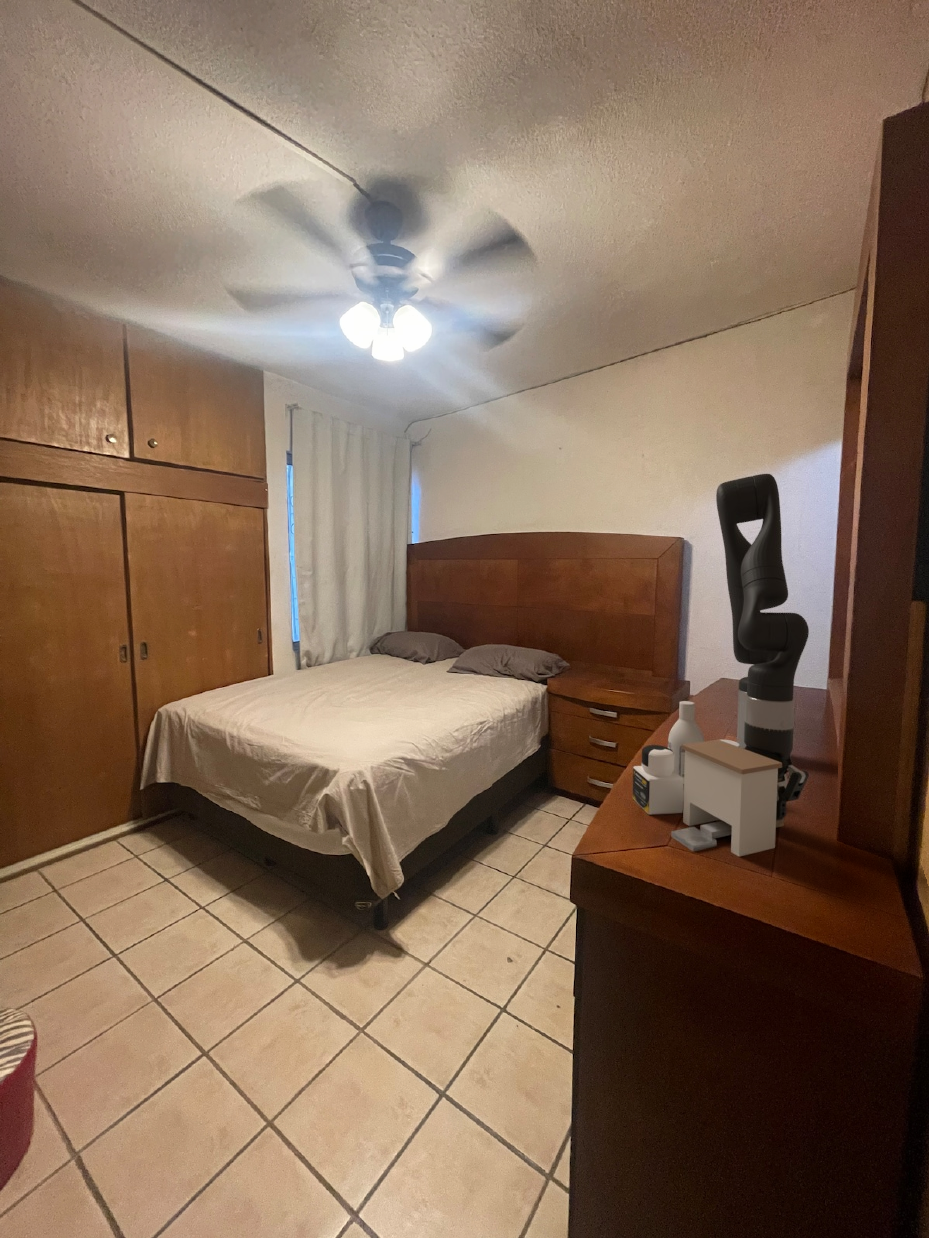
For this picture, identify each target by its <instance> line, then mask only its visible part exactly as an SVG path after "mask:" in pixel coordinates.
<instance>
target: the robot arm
mask: <svg viewBox="0 0 929 1238" xmlns="http://www.w3.org/2000/svg"><path fill="white" fill-rule="evenodd" d="M778 487H779V486H778V483H777V481H776V478H775V477H774V476H773V474H771V473H760V474H755V475H751V476H746V477H741V478H736V479H733V480H728V481H725V482H721V483H720V484H719V485H718V487H717V489H716V493H715V494H716V495H715V497H716V498H715V500H716V510H717V513H718V514H717V515H718V520H719V521H718V522H719V524H720V529H721V530H720V531H721V535H722V540H723V541H722V542H723V546H724V547H723V549H724V553H725V554H724V558H725V566H726V567H725V570H726V571H725V572H726V581H727V591H728V597H729V602H730V609H731V619H732V644H733V646H732V647H733V655H734V658H735V659H736V661H737V662H739V663H741V664H746V665H751V666H749V668H748V670H747V676H744V677H741V678H740V679H739V681H738V695H737V696H738V698H737V701H738V704H737V725H736V726H737V731H736V742H737V743H739V744H740V748H743V749H746V750H748V751H751V752H754V753H756V754H759V755H762V756H765V757H767V758H770V759H773V760H776V761H778V762H781V763H782V768H778V779H780V778H782V780H781V781H778V782H777V806H776V821H777V820H781V819H783V818H784V819H785V818H786V816H787V803H788V802H793V801H796V800H799V798H800V797H801V794H802V792H803V789H804V788H805V785H806V784H807V782H808V779H809V773H808V771H807V770H801V769H799V768H797V767H796V766H794V765H793V764H794V763H793V760H792V758H791V753H792V752H793V749H794V729H795V706H794V687H795V686H794V684H795V677H796V676H795V675H796V671H797V669H798V666H799V662H800V660H801V657H802V655H803V652H804V650H805V647H806V645H807V642H808V638H809V631H810V630H809V629H810V628H809V624H808V622H807V621H806V619H805V617H803V616H802V615H801V614H799V613H797V612H765V611H764V610H769V609H773V608H776V607H779V606H782V605H784V604H785V603H786V601H787V600H788V597H789V590H788V589H789V588H788V585H787V578H786V573H785V568H784V564H783V554H782V553H783V551H782V518H781V505H780V504H781V503H780V501H781V500H780V494H779V493H780V492H779V488H778ZM759 520H760V521H761V520H762V525H761V528H760V530H759V532H758V534H757V535H756V537H755V539H754V541H753V542H752V543H751V542H750V541H749V540H747V538H746V536H744V535H743V533H742V532H741V530H740V528H739V526H738V524H743V523H748V522H754V521H759ZM762 611H763V612H762ZM787 773H788V775H787ZM779 787H780V792H779Z"/></svg>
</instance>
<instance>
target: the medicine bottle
mask: <svg viewBox="0 0 929 1238" xmlns="http://www.w3.org/2000/svg"><path fill="white" fill-rule="evenodd" d="M632 799H633V800H634V802H635V803H636V804H637V805H638V806H639V807H640V808H641V809H642V810H643V811H644V812H645V813H646V814H647V815H649V816H650V815H652V816H653V815H669V814H670V815H671V814H683V808H684V801H683V778H682V777H681V776H679V775H678V774H677V773H675V772H674V752H673V751H672V750H671V749H669V748H668V746H664V745H659V744H651V745H645V746H644V747H642V748H641V765H634V766H633V767H632Z"/></svg>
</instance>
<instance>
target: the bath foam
mask: <svg viewBox="0 0 929 1238" xmlns="http://www.w3.org/2000/svg"><path fill="white" fill-rule="evenodd" d="M678 708H679V710H678V713H679V715H678V716H679V717H678V719H677V721H675V723H674V724H673V725H672V728H671V729H670V731H669V733H668V739H667V748H669V749H671V750H672V751H673V752H674V772H675V773H677V774H678V775H679V776H681V777H682V778H683V802H684V769H685V750H683V749H682V745H683V744H690V743H697V742H705V737H704V734H703V732H702V729H701V728H700V727H699V725H698V723H697V722H696V721H695V711H696V709H695V708H696V704H695V702H694V701H688V700H683V701H679V707H678Z"/></svg>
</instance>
